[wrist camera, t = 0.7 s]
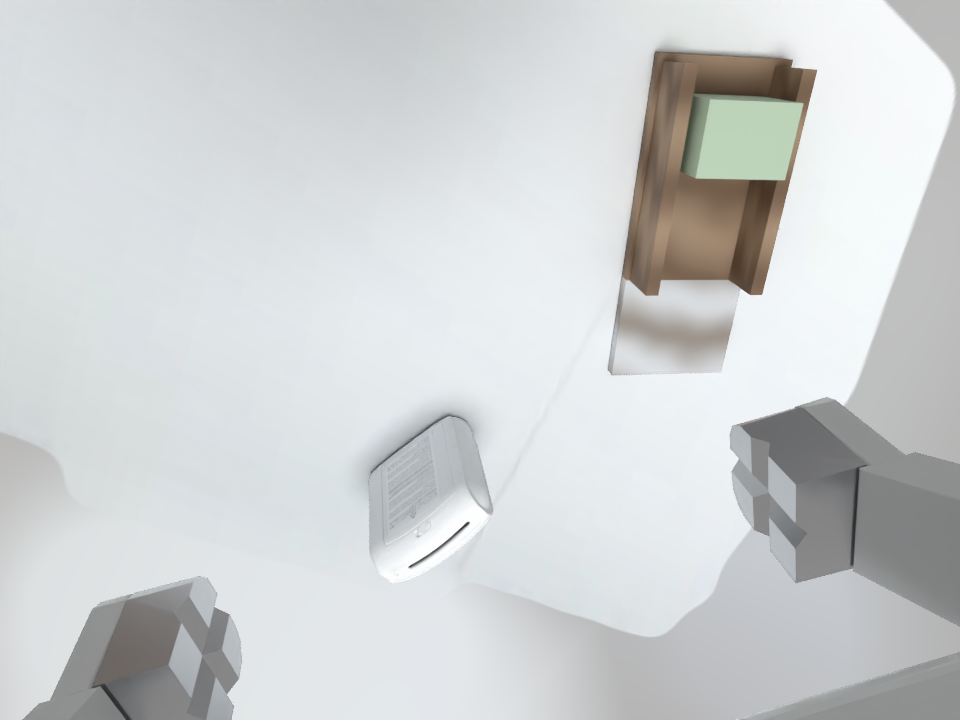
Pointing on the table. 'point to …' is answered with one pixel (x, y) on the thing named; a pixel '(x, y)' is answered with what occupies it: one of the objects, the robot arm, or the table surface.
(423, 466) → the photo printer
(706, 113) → the sage block
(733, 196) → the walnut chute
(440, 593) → the table surface
